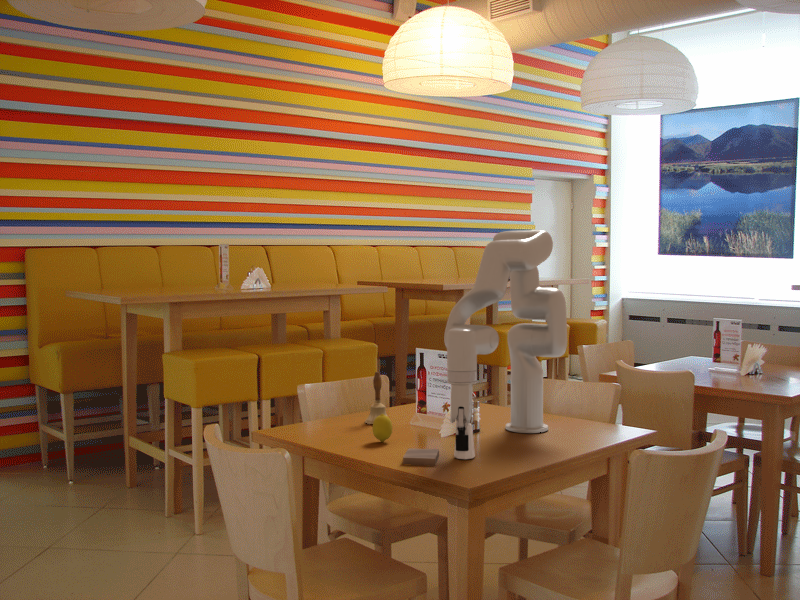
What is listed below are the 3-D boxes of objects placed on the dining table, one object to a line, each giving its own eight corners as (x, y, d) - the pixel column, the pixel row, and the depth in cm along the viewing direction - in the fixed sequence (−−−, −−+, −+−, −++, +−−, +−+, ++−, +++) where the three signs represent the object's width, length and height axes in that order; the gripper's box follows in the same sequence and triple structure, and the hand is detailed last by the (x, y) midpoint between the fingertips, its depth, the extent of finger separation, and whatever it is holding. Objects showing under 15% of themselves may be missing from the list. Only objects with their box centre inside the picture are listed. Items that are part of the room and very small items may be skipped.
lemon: (385, 445, 209) (385, 416, 208) (368, 443, 212) (368, 414, 211) (396, 441, 213) (396, 413, 213) (379, 439, 216) (379, 411, 216)
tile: (408, 448, 198) (403, 457, 188) (439, 449, 197) (435, 458, 187) (408, 455, 198) (403, 465, 188) (439, 456, 197) (435, 466, 187)
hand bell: (391, 425, 236) (390, 373, 235) (364, 425, 236) (363, 373, 235) (391, 419, 244) (391, 370, 244) (365, 419, 244) (364, 370, 244)
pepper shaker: (449, 456, 195) (449, 414, 194) (463, 452, 199) (463, 410, 198) (465, 460, 191) (465, 417, 190) (479, 456, 195) (479, 413, 194)
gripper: (449, 371, 202) (450, 440, 203) (444, 382, 186) (445, 456, 187) (478, 372, 201) (478, 440, 202) (475, 382, 185) (476, 457, 186)
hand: (462, 447), depth 195 cm, fingers closed on pepper shaker, 4 cm apart
